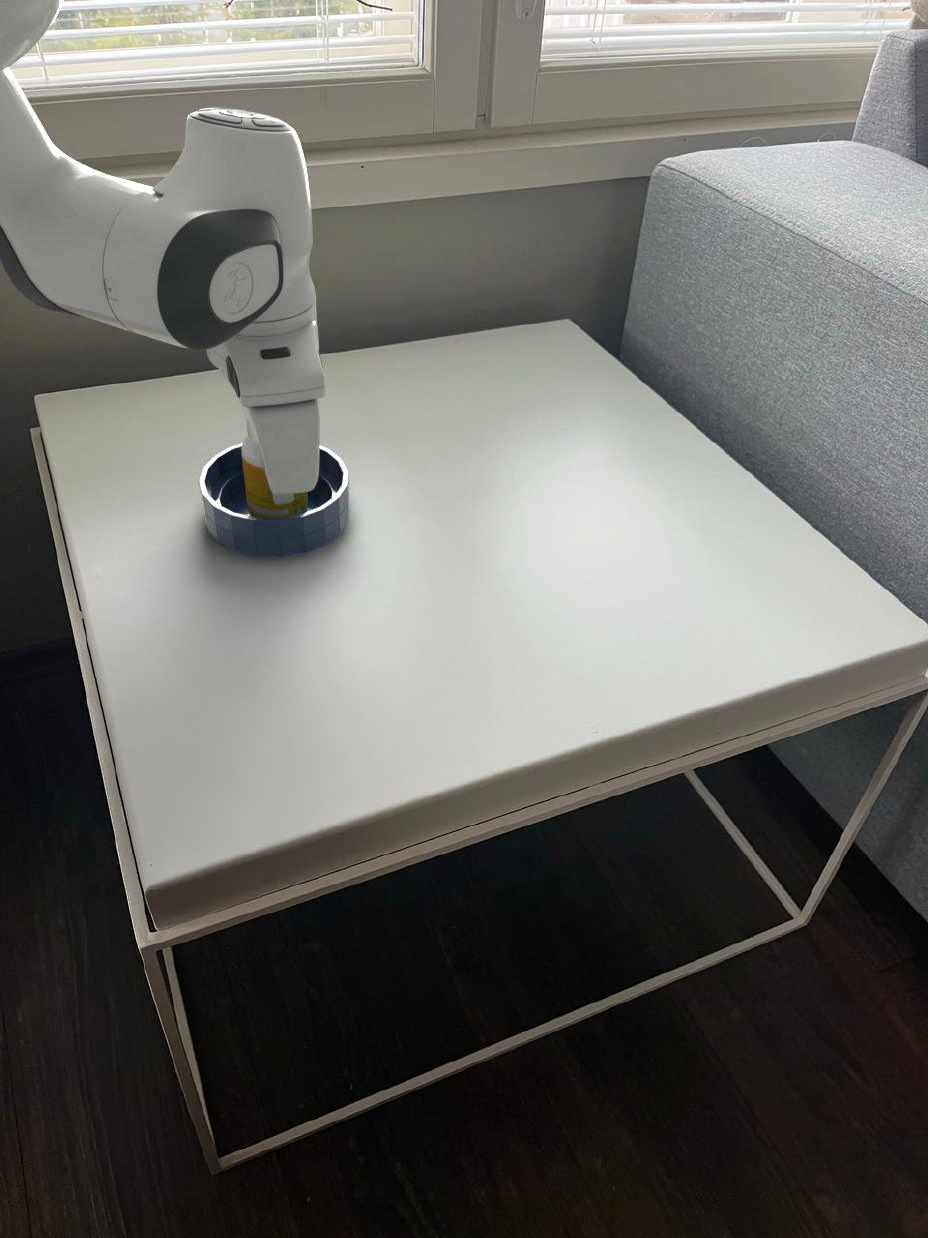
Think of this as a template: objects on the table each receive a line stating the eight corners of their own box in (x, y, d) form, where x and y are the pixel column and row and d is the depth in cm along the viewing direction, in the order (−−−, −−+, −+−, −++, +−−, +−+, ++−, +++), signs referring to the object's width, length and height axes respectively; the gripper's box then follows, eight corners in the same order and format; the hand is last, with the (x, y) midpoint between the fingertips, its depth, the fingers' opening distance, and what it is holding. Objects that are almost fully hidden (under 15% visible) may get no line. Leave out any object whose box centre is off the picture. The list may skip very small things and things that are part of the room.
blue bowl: (218, 574, 83) (212, 531, 80) (195, 489, 92) (189, 448, 89) (365, 548, 87) (365, 507, 84) (330, 469, 95) (328, 429, 92)
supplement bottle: (303, 530, 87) (297, 436, 80) (243, 527, 87) (231, 432, 80) (312, 495, 91) (306, 403, 84) (254, 492, 91) (244, 399, 84)
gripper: (201, 282, 83) (219, 423, 92) (244, 399, 69) (261, 552, 78) (274, 275, 85) (285, 414, 94) (331, 389, 71) (337, 539, 80)
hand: (274, 478), depth 86 cm, fingers closed on supplement bottle, 5 cm apart
